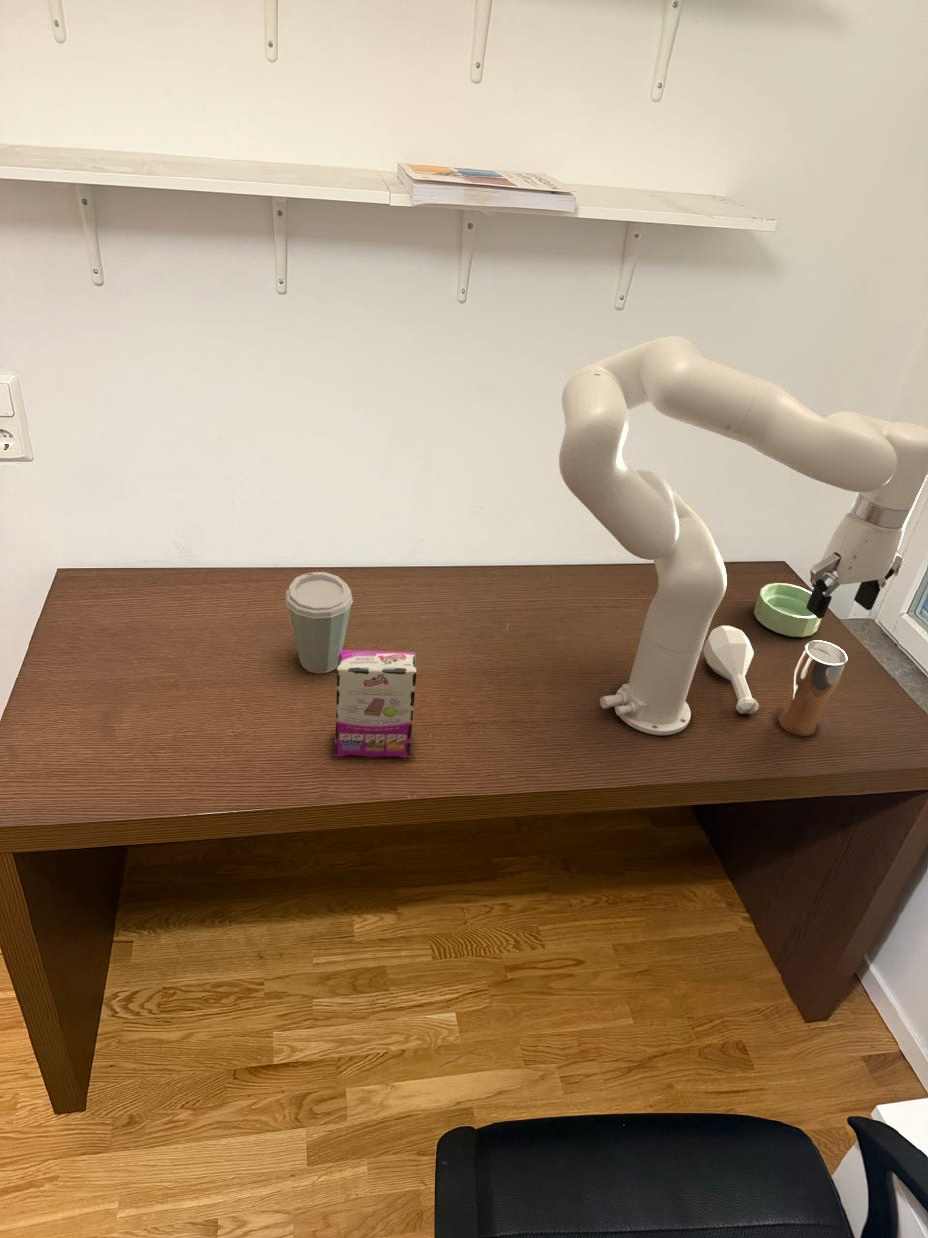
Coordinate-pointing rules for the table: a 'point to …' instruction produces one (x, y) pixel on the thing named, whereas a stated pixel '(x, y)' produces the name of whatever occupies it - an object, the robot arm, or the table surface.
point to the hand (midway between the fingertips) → (838, 609)
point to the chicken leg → (732, 662)
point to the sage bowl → (786, 610)
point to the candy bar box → (374, 703)
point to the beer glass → (812, 686)
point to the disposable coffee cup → (319, 618)
